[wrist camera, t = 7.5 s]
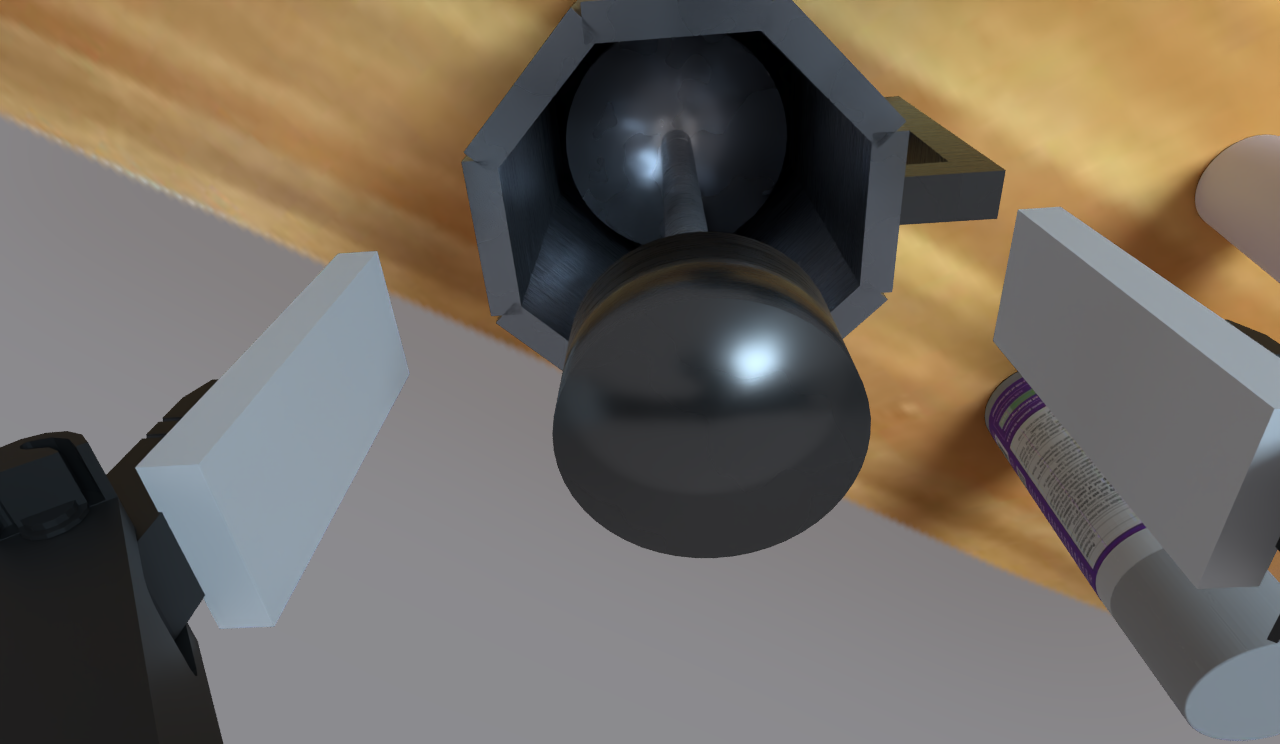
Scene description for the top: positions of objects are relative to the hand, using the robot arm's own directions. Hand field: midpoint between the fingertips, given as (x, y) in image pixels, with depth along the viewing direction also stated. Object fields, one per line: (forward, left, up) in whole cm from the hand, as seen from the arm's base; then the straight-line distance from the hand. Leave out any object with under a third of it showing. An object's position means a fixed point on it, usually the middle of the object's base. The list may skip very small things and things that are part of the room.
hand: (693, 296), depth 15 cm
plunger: (0, 0, -12) cm, 12 cm away
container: (+14, +16, -16) cm, 27 cm away
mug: (0, +1, -16) cm, 16 cm away
